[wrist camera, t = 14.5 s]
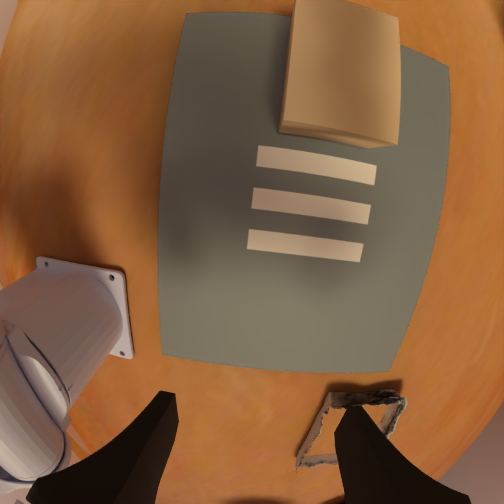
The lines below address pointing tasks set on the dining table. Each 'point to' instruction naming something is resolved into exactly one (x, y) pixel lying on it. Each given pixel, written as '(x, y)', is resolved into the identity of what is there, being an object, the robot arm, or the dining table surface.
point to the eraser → (342, 75)
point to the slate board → (290, 211)
